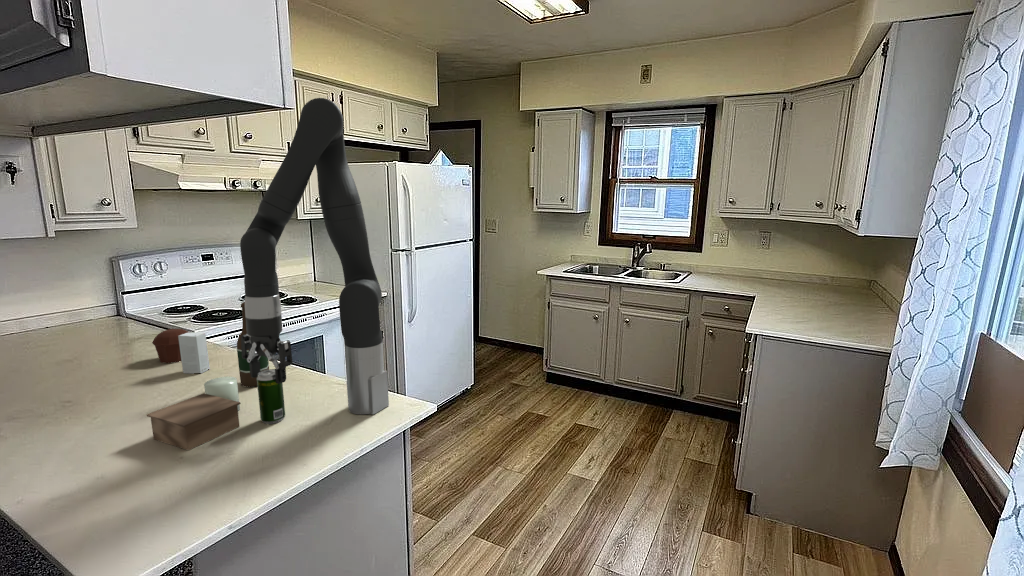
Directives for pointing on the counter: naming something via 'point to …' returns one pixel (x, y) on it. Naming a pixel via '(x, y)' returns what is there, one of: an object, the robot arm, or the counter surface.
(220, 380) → the pale green capsule
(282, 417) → the beer can
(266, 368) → the beer bottle
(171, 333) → the muffin
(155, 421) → the podium
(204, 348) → the skincare box
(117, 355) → the counter surface
